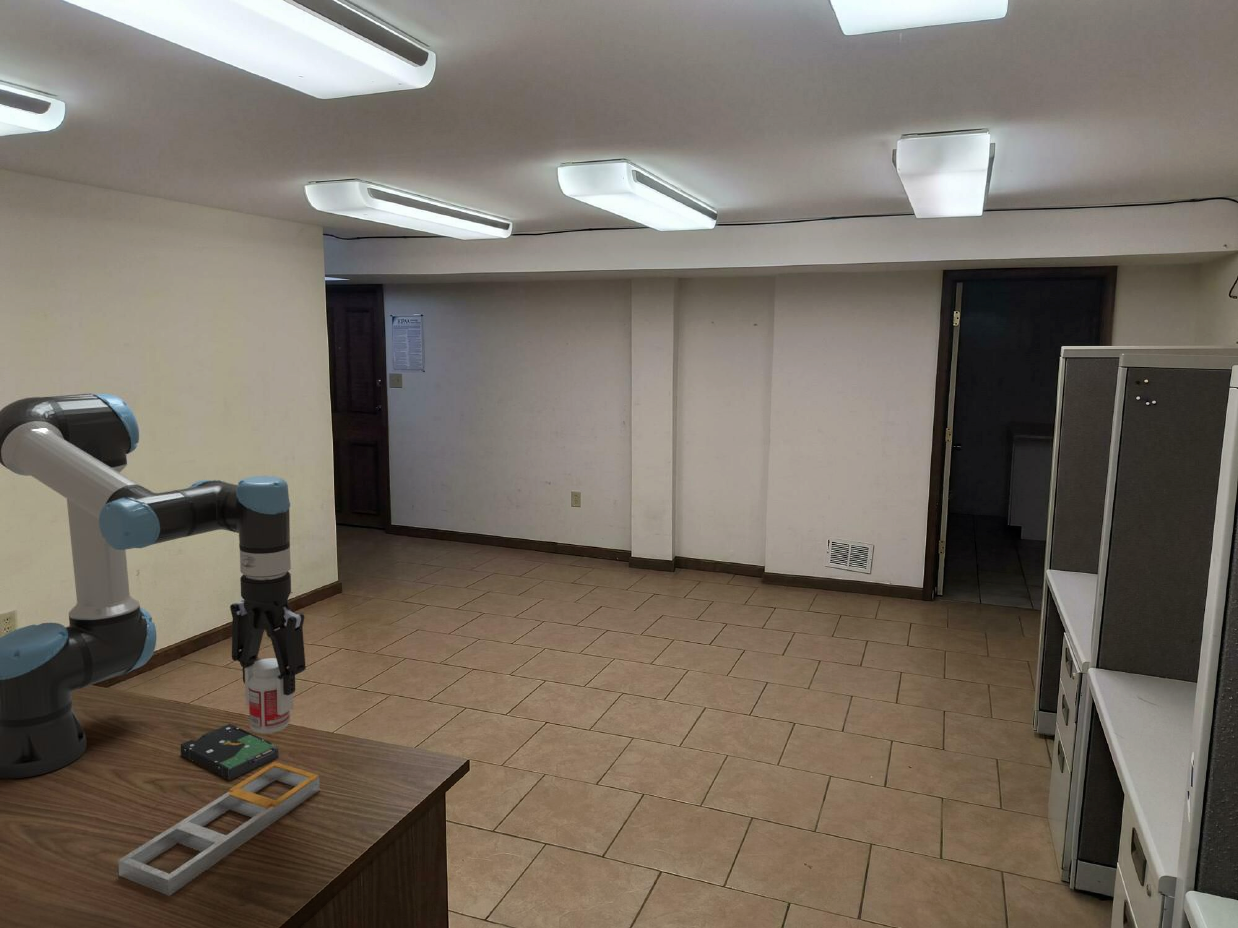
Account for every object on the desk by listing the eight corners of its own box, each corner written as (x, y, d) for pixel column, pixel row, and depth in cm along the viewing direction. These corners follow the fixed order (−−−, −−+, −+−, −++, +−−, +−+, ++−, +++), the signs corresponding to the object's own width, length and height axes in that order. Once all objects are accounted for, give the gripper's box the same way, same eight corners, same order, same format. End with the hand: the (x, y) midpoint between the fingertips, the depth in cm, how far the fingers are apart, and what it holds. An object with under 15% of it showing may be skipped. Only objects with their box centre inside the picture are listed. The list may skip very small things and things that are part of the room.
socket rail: (119, 875, 122) (118, 858, 122) (274, 775, 150) (274, 761, 149) (169, 895, 119) (168, 877, 118) (319, 789, 146) (319, 775, 146)
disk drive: (179, 758, 155) (230, 783, 148) (178, 744, 155) (229, 768, 147) (230, 735, 164) (280, 758, 157) (229, 722, 164) (279, 744, 156)
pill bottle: (295, 717, 144) (294, 656, 142) (281, 735, 137) (280, 671, 136) (258, 716, 143) (256, 655, 141) (243, 734, 137) (241, 670, 135)
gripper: (202, 569, 136) (208, 703, 140) (294, 589, 129) (297, 729, 133) (239, 558, 143) (244, 685, 147) (329, 576, 136) (330, 710, 140)
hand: (269, 706), depth 140 cm, fingers closed on pill bottle, 6 cm apart
